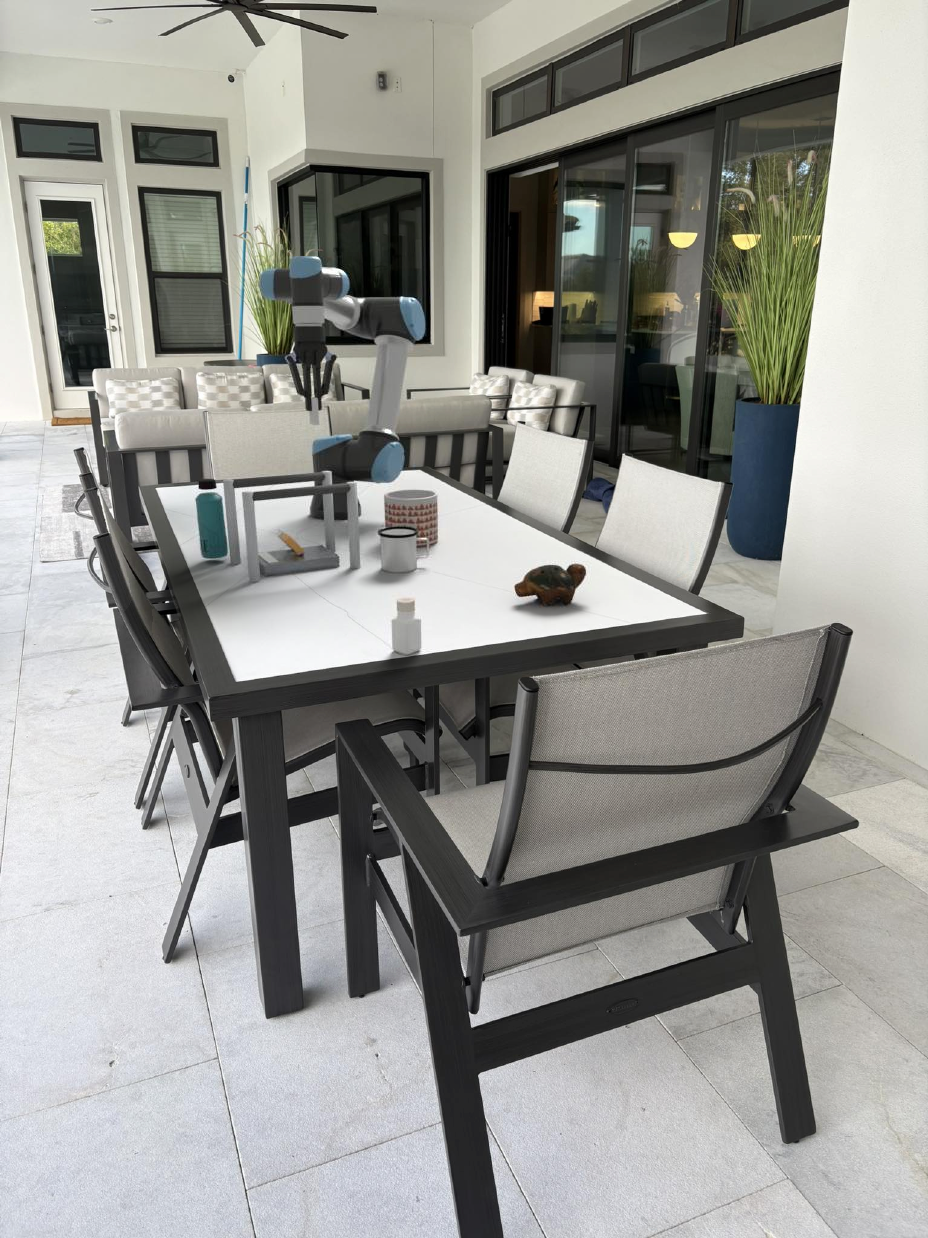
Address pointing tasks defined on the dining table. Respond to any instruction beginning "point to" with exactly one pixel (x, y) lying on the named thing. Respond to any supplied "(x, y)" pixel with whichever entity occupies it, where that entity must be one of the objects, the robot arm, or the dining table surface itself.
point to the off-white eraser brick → (280, 535)
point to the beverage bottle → (211, 521)
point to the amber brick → (293, 544)
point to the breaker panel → (296, 560)
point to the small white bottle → (406, 627)
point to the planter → (413, 512)
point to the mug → (399, 548)
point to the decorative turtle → (552, 583)
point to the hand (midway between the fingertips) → (314, 424)
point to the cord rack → (325, 489)
